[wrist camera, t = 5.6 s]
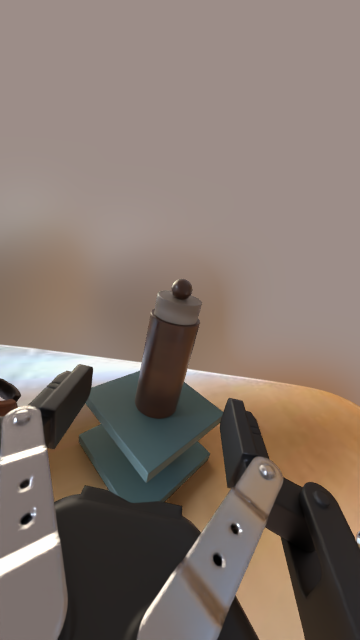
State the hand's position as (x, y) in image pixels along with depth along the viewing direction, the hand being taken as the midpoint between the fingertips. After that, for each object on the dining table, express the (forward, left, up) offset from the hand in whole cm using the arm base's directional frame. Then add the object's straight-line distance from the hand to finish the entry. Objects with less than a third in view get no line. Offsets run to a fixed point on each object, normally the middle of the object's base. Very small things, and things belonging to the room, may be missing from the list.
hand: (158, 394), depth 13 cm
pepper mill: (-7, +8, -10) cm, 15 cm away
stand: (-7, +8, -18) cm, 21 cm away
